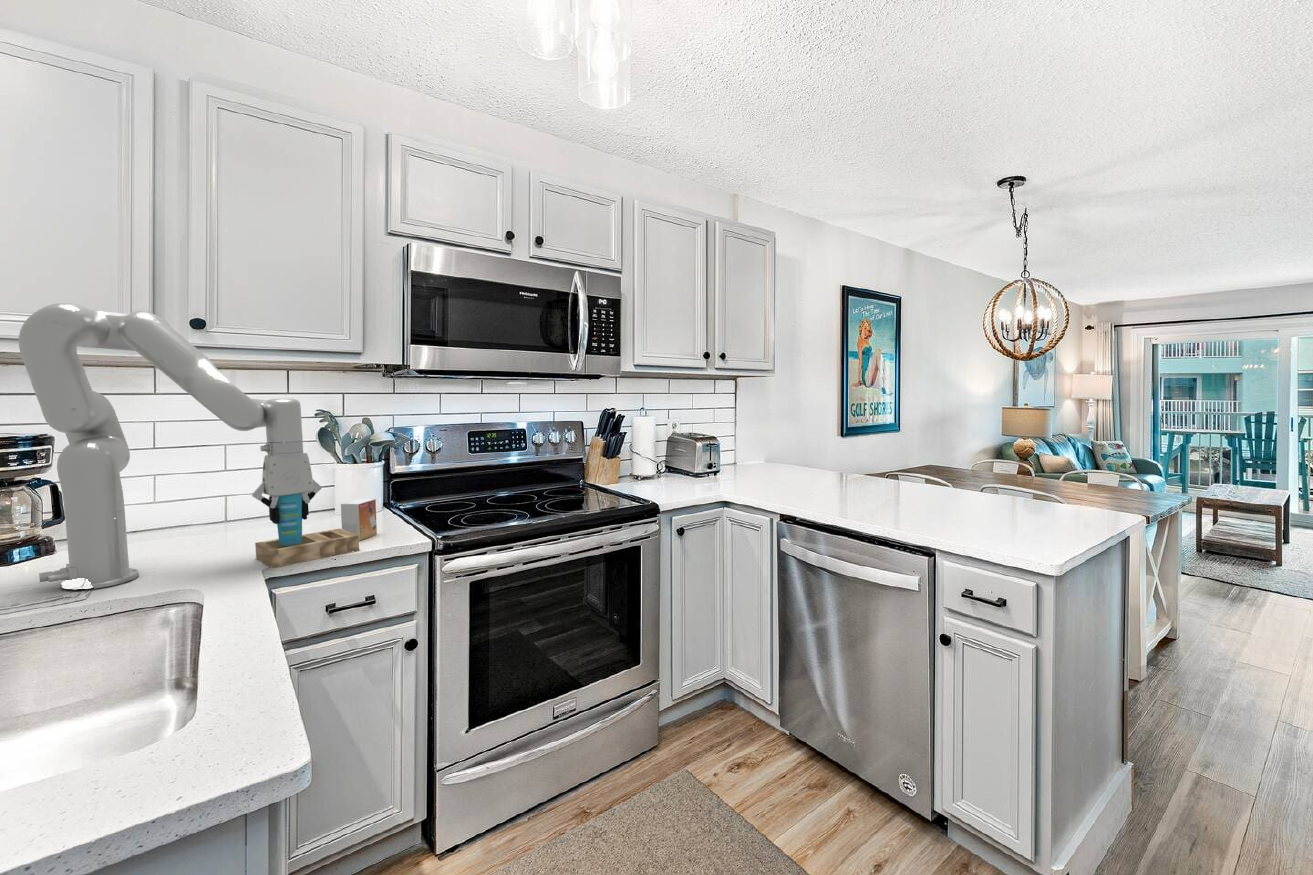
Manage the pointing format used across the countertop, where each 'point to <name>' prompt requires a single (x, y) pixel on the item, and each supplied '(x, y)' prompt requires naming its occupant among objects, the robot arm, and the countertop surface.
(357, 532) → the small box
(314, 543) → the holder block
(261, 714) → the countertop surface
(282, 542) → the tube
